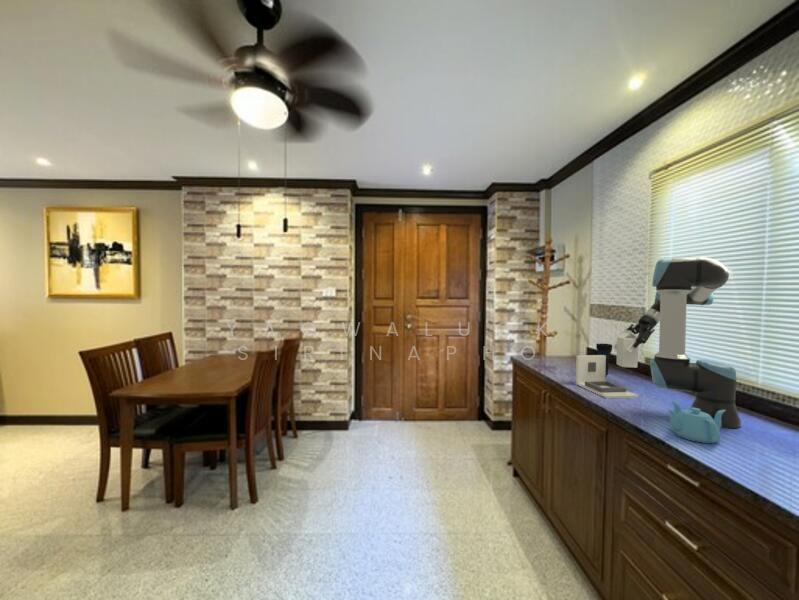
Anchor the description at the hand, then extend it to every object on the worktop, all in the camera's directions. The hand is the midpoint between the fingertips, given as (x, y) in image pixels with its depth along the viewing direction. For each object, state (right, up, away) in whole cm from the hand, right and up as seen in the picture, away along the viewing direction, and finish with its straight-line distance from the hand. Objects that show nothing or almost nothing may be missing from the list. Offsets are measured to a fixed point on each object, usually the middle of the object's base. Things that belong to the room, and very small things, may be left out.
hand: (621, 349), depth 182 cm
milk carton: (+3, -9, +1) cm, 10 cm away
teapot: (-13, -22, -59) cm, 64 cm away
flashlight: (+3, -20, +21) cm, 29 cm away
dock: (-11, -20, -5) cm, 24 cm away
